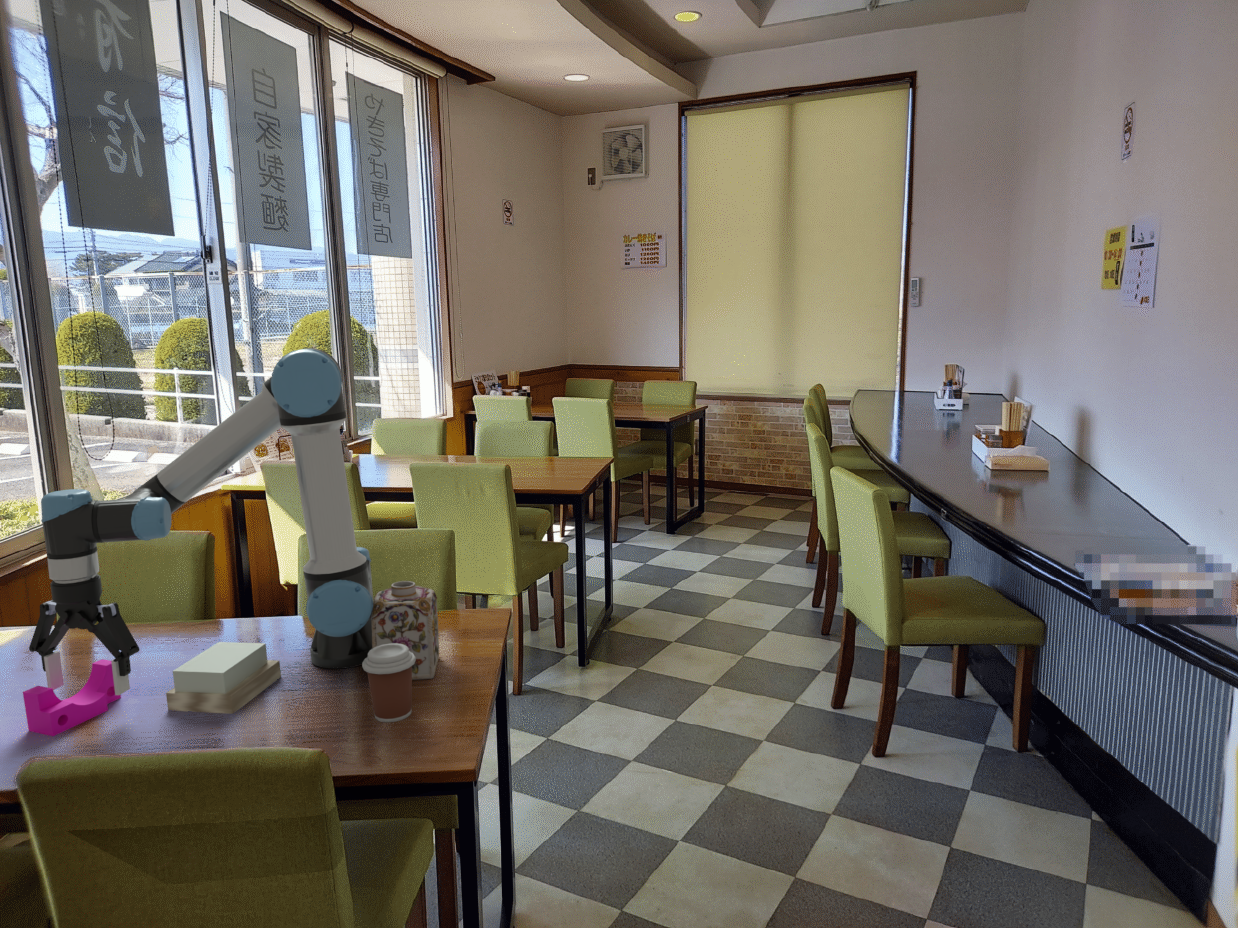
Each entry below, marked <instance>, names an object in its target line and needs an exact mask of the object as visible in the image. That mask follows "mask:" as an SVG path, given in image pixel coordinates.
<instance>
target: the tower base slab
mask: <svg viewBox="0 0 1238 928" xmlns="http://www.w3.org/2000/svg"><path fill="white" fill-rule="evenodd" d="M267 662H268V663H266V664H265V665H264V666H262V667H261V668H260V669H258V670H257V671H256V672H254V673H253V674H251V675H250V676H249V677H247V678H246V679H245V680H243V681H242V682H241V683H239V684H238V685H237V686H235V687H234V688H232V689H231V690H230V691H228V692H227V693H226V694H222V693H197V692H175V686H174V687H173V688H171V689H170V690H168V691H167V692H165V693H166V694H165V695H166V697H165V698H166V702H167V704H166V705H167V711H169V710H172V712H188V711H192V712H193V713H207V714H208V713H210V714H229V715H231V714H232V715H233V714H235V713H236V712H237V711H239V710H240V709H241V708H242V707H244V706H245V705H246V704H249V702H250V701H252V700H253V699H254V698H255V697H257V696H258V695H260V694H261V693H262V692H263V691H265V690H266V689H267V688H269V687H270V686H271V685H273V684H274V683H275V682H277V681H278V680H279V679H280V678H282V675H281V665H280V662H281V661H280V660H276V659H275V660H274V659H272V660H270V659H267ZM277 679H278V680H277ZM273 682H274V683H273ZM174 710H175V711H174Z"/></svg>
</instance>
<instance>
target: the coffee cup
mask: <svg viewBox="0 0 1238 928" xmlns="http://www.w3.org/2000/svg"><path fill="white" fill-rule="evenodd" d="M415 661H416V657H415V656H414V654H413V653H412V652H410V651H409V648H408V647H407V646H406V645H403V644H398V643H391V644H384V645H380V646H377V647H374V648H373V649H371V650H370V651H369V652H368V657H367V658H365V660H364V661H363V663H362V665H361V666H362V669H363V671H364V672H366V673H367V679H368V685H369V690H370V696H371V702H372V703H371V704H372V707H373V713H374V718H375V721H378V722H381V723H395V722H399V721H403V720H405V719H407V718H408V717H409V716H411V715H412V712H413V710H412V708H413V707H412V703H413V702H412V701H413V698H412V697H413V696H412V695H413V693H412V692H413V688H412V687H413V680H412V665H414V663H415Z"/></svg>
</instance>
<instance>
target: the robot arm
mask: <svg viewBox="0 0 1238 928" xmlns="http://www.w3.org/2000/svg"><path fill="white" fill-rule="evenodd" d="M343 390H344V389H343V372H342V368H341V366H340V364H339V363H338V362H337V360H336V359H335V358H334V357H333V356H332V355H331V354H329V353H328V352H326V351H325V350H322V349H319V348H314V347H304V348H300V349H297V350H295V349H294V350H292V351H289V352H287V354H284V355H283V356H282V357H281V358H280V359H279V360H278V361H277V362H276V365H274V367H273V370H272V373H271V376H270V377H268V379H267V380H265V381H264V382H262V387H261V391H260V392H259V393H258V394H257V395H255V396H254V397H252V398H251V399H250V400H249V401H248V402H247V403H244V405H242V406H241V407H240V408H239V409H237V410H236V411H235V412H233V413H232V414H231V415H230V416H228V417H227V418H226V419H225V420H223V421H222V422H220V424H218V425H217V426H216V427H214V428H213V429H212V430H210V431H209V432H208V433H207V434H206V435H204V436H203V437H202V438H200V439H199V440H198V441H197V442H195V443H193V445H192V446H190V447H189V448H188V449H186V450H185V451H184V452H183V453H181V454H180V455H178V457H176V458H175V459H174V460H173V461H171V462H170V463H168V464H167V465H166V466H165V467H164V468H162V469H161V470H160V471H158V472H157V473H156V474H155V475H154V476H152V477H151V478H149V479H148V480H146V482H144V483H143V484H142V485H140V486H139V487H138V488H136V489H135V490H134V491H132V493H130V494H129V495H127V496H126V497H124V498H120V499H109V500H108V499H107V500H93V499H94V498H93V497H92V494H91V492H90V491H89V490H88V489H83V488H82V489H81V488H80V489H77V488H74V489H73V488H70V489H62V490H56V491H52V492H48V493H47V494H44V495H43V496H42V498H41V499H40V500H41V501H40V506H41V507H40V508H41V520H40V521H41V523H42V524H41V525H42V530H43V535H44V536H43V537H44V542H45V549H46V559H47V560H46V561H47V567H48V576H49V577H48V579H50V580H52V581H51V582H50V585H49V586H50V592H51V599H50V600H48V601H45V602H43V603H41V604H40V605H39V617H38V619H37V623H36V626H35V629H34V632H33V635H32V638H31V641H30V644H29V647H28V650H29V651H30V652H32V653H38V655H39V656H40V658H41V665H42V670H43V671H44V672H45V676H46V684H47V688H53V691H55V690H56V689H59V688H61V687H62V686H64V683H65V682H64V677H63V676H64V675H63V669H62V667H63V666H62V660H61V652H60V651H59V650H58V646H59V644H60V642H61V641H62V640H63V639H64V637H65V636H66V634H67V632H68V631H69V630H70V629H71V630H74V629H80V630H87V631H88V632H89V633H92V634H93V635H94V636H95V637H96V638H97V639H98V640H99V641H100V642H101V644H102V645H103V646H104V647H105V648H106V649H107V650H108V652H109V653H110V654H111V655H112V657H114V658H113V659H112V660H110V661H111V662H112V671H113V679H114V688H115V695H121V696H122V694H124V693H126V692H127V691H129V690H130V689H131V686H130V685H131V684H130V676H129V675H130V674H131V671H132V669H131V668H132V667H131V659H130V658H131V657H132V656H133V655H135V654H137V653H139V652H140V647H139V645H138V643H137V641H136V640H135V638H134V636H133V634H132V633H131V631H130V629H129V627H128V626H127V624H126V621H124V619H123V617H122V615H121V612H120V608H119V607H120V606H119V604H118V603H117V602H112V603H109V604H103V603H102V602H101V596H102V593H103V588H102V579H101V575H99V574H98V573H99V572H100V563H99V556H98V546H97V544H101V543H102V544H104V543H117V542H131V541H132V542H133V541H150V540H155V539H162V538H166V537H167V536H168V535H169V534H170V532H171V527H172V514H174V512H176V511H177V510H178V509H179V508H181V507H182V506H183V505H184V504H186V503H187V502H188V501H189V500H191V499H192V498H193V497H195V496H196V495H198V493H200V492H201V491H202V490H203V489H205V488H206V487H207V486H208V485H209V484H211V483H212V482H213V481H215V480H216V479H218V477H220V476H221V475H222V474H224V472H226V471H227V470H228V469H230V468H231V467H232V466H233V465H235V464H236V463H237V462H239V461H240V460H242V458H244V457H245V456H246V455H247V454H249V453H250V452H251V451H252V450H254V449H255V448H256V447H258V446H259V445H260V444H262V443H263V442H264V441H265V440H266V439H268V438H269V437H271V436H272V435H273V434H274V433H275V432H277V431H278V430H280V428H282V429H284V430H285V431H287V433H288V434H290V437H291V442H292V443H291V444H292V449H293V455H294V462H295V463H294V464H295V468H296V470H295V471H296V476H297V483H298V488H299V495H300V500H301V501H300V502H301V508H302V515H303V521H304V528H305V532H306V533H305V534H306V540H307V547H308V551H309V552H308V553H309V554H308V555H309V559H308V560H307V562H306V563H305V564H304V565H303V568H302V570H303V577H304V578H303V579H304V584H305V591H306V596H307V601H306V606H305V612H306V616H307V618H308V621H309V623H310V624H311V626H312V627H313V628H314V629H315V630H314V633H313V638H312V641H311V645H310V661H311V663H312V664H313V665H314V666H317V667H320V668H324V669H346V668H353V667H359V666H362V663H363V661H364V660H365V658H367V657H368V652H369V651H370V650H371V649H373V648H372V623H371V618H370V617H371V615H372V610H373V601H374V593H373V583H372V582H373V580H372V569H371V568H372V566H371V562H372V559H371V558H370V556H371V555H370V550H368V549H367V548H366V547H362V546H357V542H356V535H355V529H354V522H353V520H354V519H353V515H352V514H353V513H352V507H351V498H350V493H349V487H348V486H349V485H348V480H347V474H346V473H347V472H346V465H345V458H344V457H345V456H344V453H343V452H344V451H343V444H342V437H341V431H340V429H341V426H342V425H343V424H344V423H345V421H346V420H347V413H346V411H347V410H346V406H345V405H346V404H345V399H344V398H345V397H344V392H343ZM57 615H58V617H59V618H58V619H57V621H56V623H55V620H56V616H57ZM54 623H55V624H54ZM53 625H54V626H53ZM53 627H54V628H53ZM52 628H53V629H52ZM57 650H58V651H57Z"/></svg>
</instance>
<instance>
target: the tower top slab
mask: <svg viewBox="0 0 1238 928" xmlns="http://www.w3.org/2000/svg"><path fill="white" fill-rule="evenodd" d="M267 652H268V651H267V645H266V643H264V642H263V643H262V642H261V643H260V642H232V641H231V642H228V641H225V642H224V641H218V642H217V643H215V644H213V645H211V646H210V647H208V648H206V650H204V651H203V652H201V653H199V654H197V655H196V656H194V657H193V658H191V659H189V660H188V661H186V662H184V664H182V665H179V666H178V667H176V668H175V669H173V670H172V675H173V677H172V679H173V684H174V687H175V692H197V693H222V694H226V693H227V692H228V691H230V690H231V689H232V688H234V687H235V686H237V685H238V684H239V683H241V682H242V681H243V680H245V679H246V678H247V677H249V676H250V675H251V674H253V673H254V672H256V671H257V670H258V669H260V668H261V667H262V666H264V665H265V664H266V663H268V662H267V660H268V654H267Z"/></svg>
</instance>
